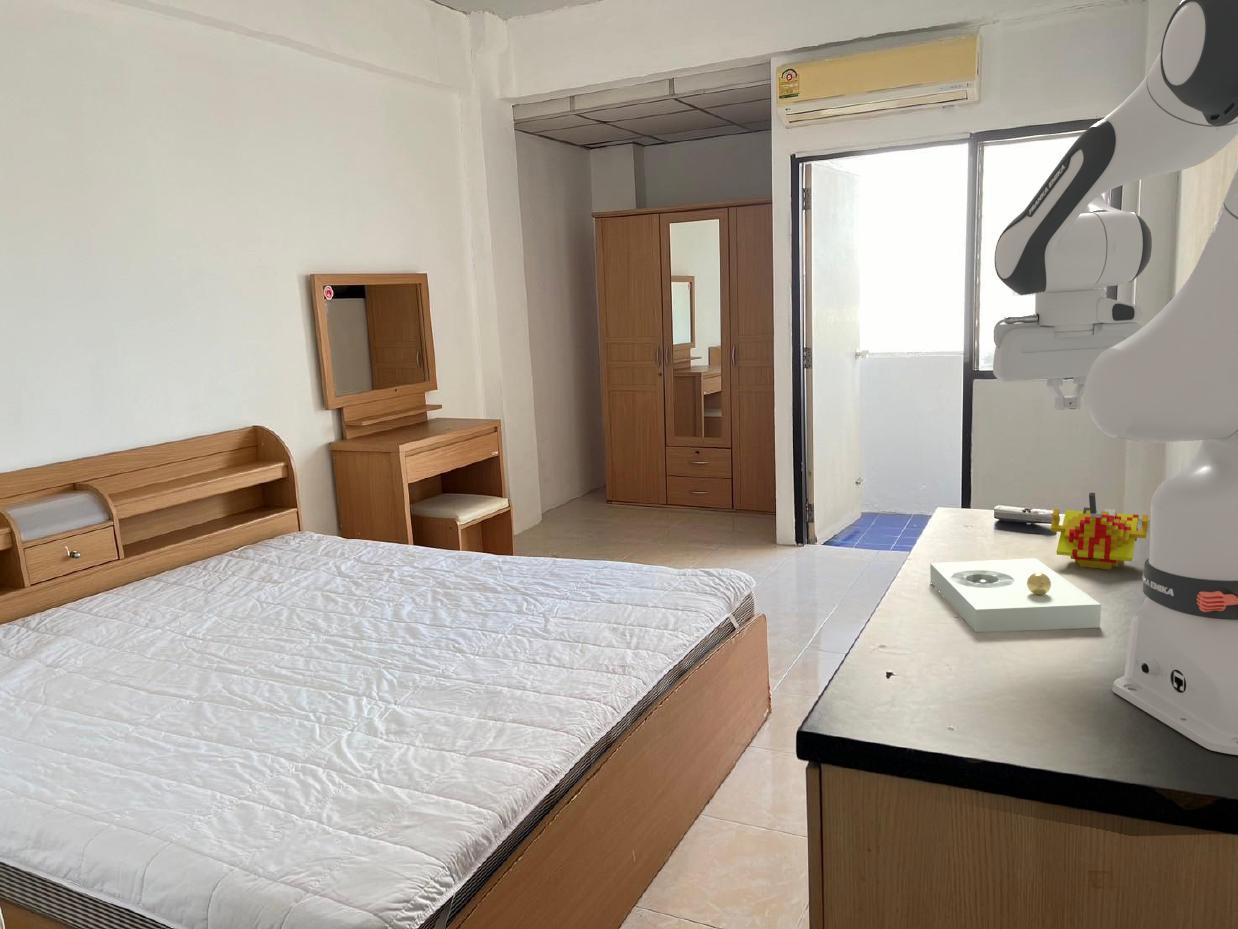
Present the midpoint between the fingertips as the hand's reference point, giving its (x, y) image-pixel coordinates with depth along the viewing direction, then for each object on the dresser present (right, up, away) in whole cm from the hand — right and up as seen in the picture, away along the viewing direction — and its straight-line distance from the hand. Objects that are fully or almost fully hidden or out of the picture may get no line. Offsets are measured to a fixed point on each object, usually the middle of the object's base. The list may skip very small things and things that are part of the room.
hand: (1067, 408), depth 130 cm
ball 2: (-7, -24, -6) cm, 26 cm away
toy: (+13, -24, +16) cm, 32 cm away
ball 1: (-11, -26, +2) cm, 29 cm away
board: (-8, -28, 0) cm, 29 cm away
